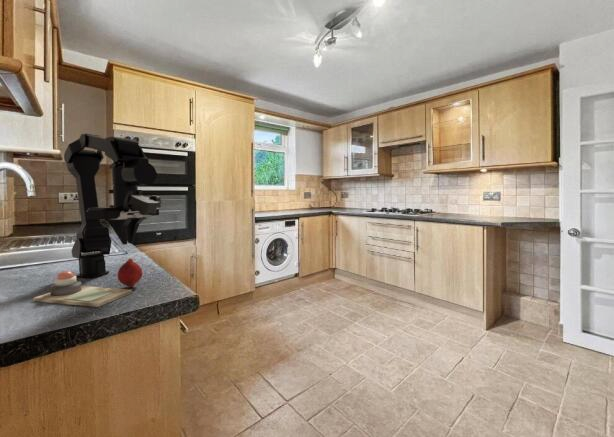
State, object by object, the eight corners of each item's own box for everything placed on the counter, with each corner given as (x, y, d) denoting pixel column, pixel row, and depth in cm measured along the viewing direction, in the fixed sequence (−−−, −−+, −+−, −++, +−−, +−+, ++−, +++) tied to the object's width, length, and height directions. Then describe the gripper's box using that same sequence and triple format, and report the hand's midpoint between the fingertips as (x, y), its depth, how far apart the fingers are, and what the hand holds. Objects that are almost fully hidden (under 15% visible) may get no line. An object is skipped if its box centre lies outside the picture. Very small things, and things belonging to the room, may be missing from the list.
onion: (131, 291, 77) (130, 261, 77) (112, 289, 78) (111, 260, 78) (147, 284, 83) (146, 256, 82) (130, 283, 84) (128, 255, 83)
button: (50, 286, 72) (49, 272, 72) (67, 281, 76) (66, 268, 76) (64, 287, 71) (63, 273, 71) (80, 282, 75) (80, 269, 75)
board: (33, 301, 70) (32, 289, 69) (74, 288, 79) (73, 278, 79) (97, 306, 66) (97, 294, 66) (132, 292, 76) (131, 282, 76)
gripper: (122, 184, 68) (125, 251, 69) (174, 187, 86) (176, 239, 87) (82, 184, 70) (86, 249, 71) (141, 187, 88) (143, 238, 89)
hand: (127, 243), depth 79 cm, fingers closed
